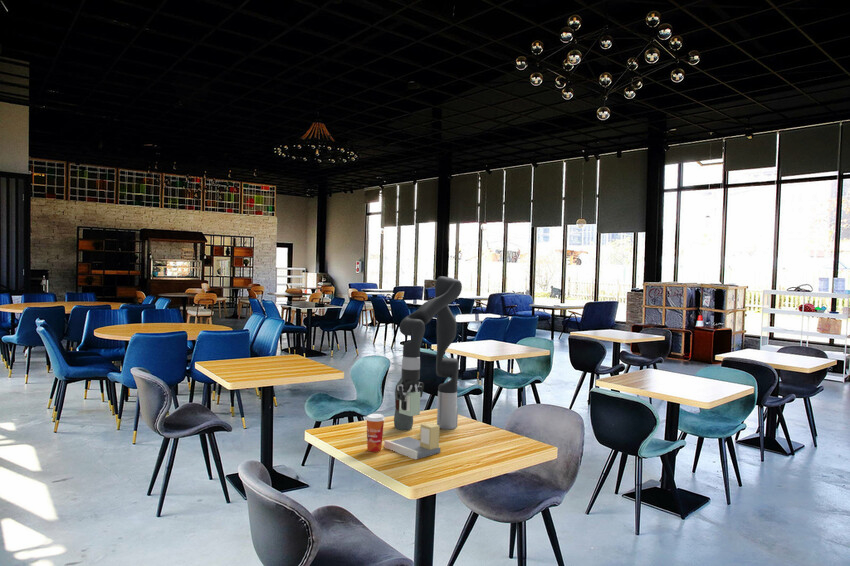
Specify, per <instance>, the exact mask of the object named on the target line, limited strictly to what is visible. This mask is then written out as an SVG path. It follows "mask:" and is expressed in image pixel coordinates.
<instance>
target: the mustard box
mask: <svg viewBox="0 0 850 566" xmlns="http://www.w3.org/2000/svg"><path fill="white" fill-rule="evenodd" d="M419 435H420V436H419V440H420V447H423V448H426V449H429V450H432V449H435V448H439V447H440V426H439V425H437V423H436V424H435V423H432V422H426V423H421V424H420V433H419Z"/></svg>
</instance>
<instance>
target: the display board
mask: <svg viewBox="0 0 850 566" xmlns="http://www.w3.org/2000/svg"><path fill="white" fill-rule="evenodd" d="M384 447H385V449H387V450H389V449H390V450H389V451H392V450H393V451H392V452H394V451H395V452H394V453H396V454H400V455H402V456H405V457H407V456H408V458H411V459H412V460H418V459H422V458H425V457H429V456H432V455H437V454H441V447H440V446H439V448H435V449H432V450H429V449H426V448H423V447H420V439H416V438H414V437H411V436H407V437H402V438H398V439H394V440H388V439H384V443H383V448H384ZM436 453H437V454H436Z"/></svg>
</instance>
